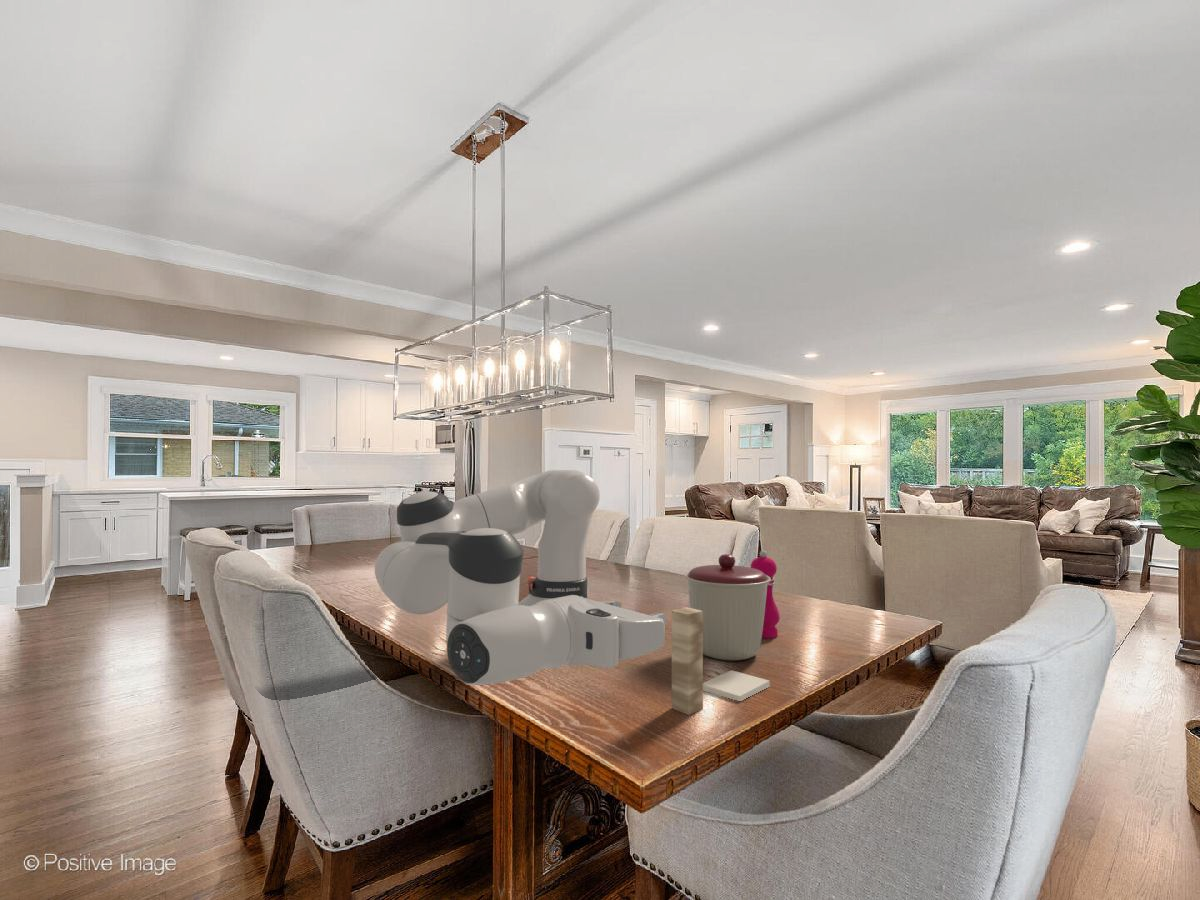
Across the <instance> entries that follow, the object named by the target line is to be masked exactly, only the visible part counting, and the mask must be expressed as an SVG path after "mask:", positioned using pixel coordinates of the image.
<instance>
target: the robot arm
mask: <svg viewBox="0 0 1200 900" xmlns="http://www.w3.org/2000/svg"><path fill="white" fill-rule="evenodd" d="M600 496H601V495H600V489H599V486H598V484H597V483H596V481H595V480H594V479H593V478H592V477H590V476H589V475H587V474H585V473H584V472H582V471H578V470H573V469H571V470H569V469H568V470H567V469H563V470H561V469H553V470H552V469H550V470H546V471H544V472H540V473H538V474H534V475H531V476H529V477H525V478H522V479H520V480H517V481H514V482H512V483H510V484H506V485H503V486H499V487H496V488H492V489H488V490H485V491H483V492H482V491H481V492H479V493H475V494H471V495H469V496H466V497H462V498H460V499H456V500H455V501H453V500H449V498H448V497H447V495H445V494H443V493H441V492H440V491H430V490H428V491H427V490H425V491H419V492H415V493H413V494H411V495H410V496H407V497H406V498H404V499H402V500H401V501H400V503H399V504H398V506H397V507H396V523H397V525H399V533H400V540H401V541H397V542H393V543H391V544H389V545H388V546H385V548H383V549H382V550H381V551H380V553H379V554H378V555H377V558H376V559H375V560H376V561H375V564H374V576H375V579H376V582H377V584H378V587H379V588H380V589H381V591H382V593H383V594H384V595H385V596H386V597H387V599H389V600H390V601H391V602H392V603H393V604H394V605H395V606H396V607H397V608H399V609H400V610H401V611H404V612H406V613H408V614H409V613H410V614H414V615H427V614H431V613H434V612H436V611H438V610H439V609H441V608H443V607H444V606H445V605H447V610H446V627H445V628H446V629H445V634H446V635H445V638H446V653H447V659H448V663H449V665H450V668H451V670H452V671H453V673H454V675H455V676H456V677H457V679H459V681H461V682H463V683H465V684H467V685H472V686H481V685H482V686H484V685H493V684H494V685H495V684H501V683H502V684H503V683H506V682H510V681H515V680H519V679H524V678H526V677H527V678H528V677H530V676H533V675H534V674H536V673H538V672H539V671H541V670H543V669H553V670H554V669H558V668H562V667H566V666H570V667H573V666H588V667H593V668H594V667H595V668H603V669H611V668H615V667H618V665H619V660H621V661H622V660H631V659H634V658H639V657H641V656H644V655H647V654H649V653H652V652H654V651H657V650H660V649H661V648H662V647H663V646H664V645H665V639H666V628H665V626H666V625H667V615H666V614H665V613H663V612H657V611H656V612H652V613H650V614H646V613H642V612H638V611H634V610H631V609H628V608H623V607H622V603H621V602H619V601H616V600H611V601H598V600H594V599H590V598H589V582H588V577H587V576H586V575H587V574H586V573H587V572H586V569H587V567H586V566H587V564H586V563H587V554H586V553H587V542H588V536H589V535H588V534H589V529H590V526H591V522H592V516H593V513H594V511H595V510H596V508H597V507H598V505H599V502H600ZM541 522H544V525H543V529H542V534H541V536H540V539H539V541H538V543H537V577H535V576H529V577H528V578H527V584H528V595H527V596H525V597H524V598H523V599H522V600H521V601H519V599H520V581H521V579H520V578H521V572H522V569H523V568H522V567H523V561H524V560H523V559H524V548H523V547H522V545H521V544H520V542H519V541H518V539H517V538H516V537H515V536H514V535H517V534H520V533H523V532H525V531H526V530H527V529H529V528H531V527H533V526H535V525H537V524H539V523H541Z"/></svg>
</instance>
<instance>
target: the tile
mask: <svg viewBox="0 0 1200 900" xmlns="http://www.w3.org/2000/svg"><path fill="white" fill-rule="evenodd" d="M770 682H771V681H770V680H768V679H765V678H762V677H757V676H754V675H750V674H747V673H744V672H739V671H735V670H733V669H731V670H729V671H726V672H725V673H722V674H720V675H717V676H715V677H714V678H711V679H709V680H707V681H705V682H704V681H703V692H706V693H709V692H710V694H713V695H715V694H716V695H715V696H718V695H720V696H719V697H722V696H723V697H722V698H725V697H726V698H725V699H728V698H730V699H729V700H731V699H733V700H732V701H734V700H737V701H742V700H744V699H746V698H748V697H750V696H751V697H753V696H755V695H757V694H759V693H761V692H763V691H764V689H765V690H767V689H768V687H769V688H770V686H771V685H770ZM766 688H767V689H766ZM762 690H763V691H762ZM760 691H761V692H760ZM758 692H759V693H758ZM756 693H757V694H756ZM754 694H755V695H754ZM752 695H753V696H752ZM751 697H750V698H751ZM748 699H749V698H748ZM746 700H747V699H746ZM737 701H736V702H737ZM744 701H745V700H744ZM742 702H743V701H742Z"/></svg>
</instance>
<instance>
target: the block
mask: <svg viewBox="0 0 1200 900" xmlns="http://www.w3.org/2000/svg"><path fill="white" fill-rule="evenodd" d="M703 658H704V654H703V611H700V610H696V609H692V608H690V607H687V606H686V607H685V606H684V607H681V608H677V609H673V610H671V709H673V710H675V711H678V712H681V713H683V714H685V715H688V716H690V715H691V714H692V715H693V714H694V713H697V712H699V711H702V710H703V709H704V691H703V683H704V673H703V672H704V668H703V665H704V659H703Z"/></svg>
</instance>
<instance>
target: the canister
mask: <svg viewBox="0 0 1200 900" xmlns="http://www.w3.org/2000/svg"><path fill="white" fill-rule="evenodd" d="M735 564H736V559H735V556H733V555H731V554H721V555H720V556H719V557H718V564H710V565H700V566H697V567H694V568H692V569H691V570H689V571H687V572H686V573H685V574H684V575H683V576H684V578H685V580H686V581H687V589H688V590H687V591H688V597H689V599H688V600H689V606H690V607H689V608H692V609H696V610H700V611H703V656H707V657H709V658H712V659H716V660H721V661H742V660H743V661H744V660H747V659H751V658H753V657H755V655H757V653H758V652H759V650H760V648H761V643H762V639H763V638H762V631H763V623H764V614H765V604H766V595H767V584H768V583H769V582H770V581H771V578H770V577H769V576H767V575H765V574H764V573H763V572H762V571H760V570H757V569H754V568H751V566H750V567H749V566H744V565H743V566H742V565H735Z"/></svg>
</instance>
